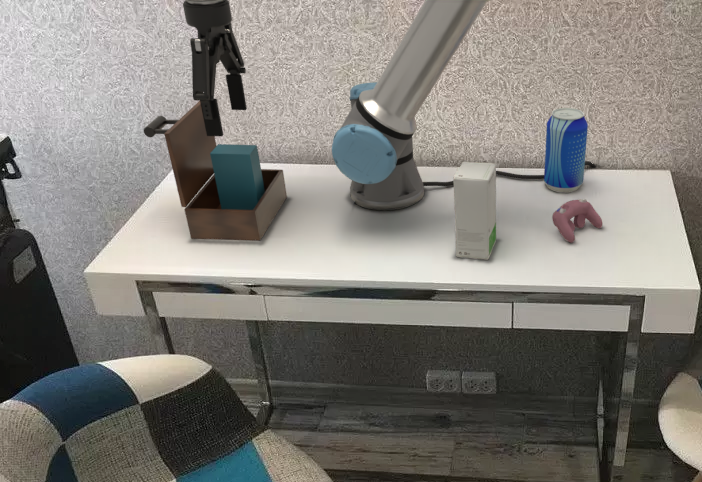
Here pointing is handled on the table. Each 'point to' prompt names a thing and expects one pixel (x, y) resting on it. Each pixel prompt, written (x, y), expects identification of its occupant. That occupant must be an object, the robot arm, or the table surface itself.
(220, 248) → the table surface
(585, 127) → the beer can
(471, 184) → the cosmetic box
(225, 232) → the chest
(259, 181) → the block
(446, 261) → the table surface
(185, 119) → the lid
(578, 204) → the video game controller
